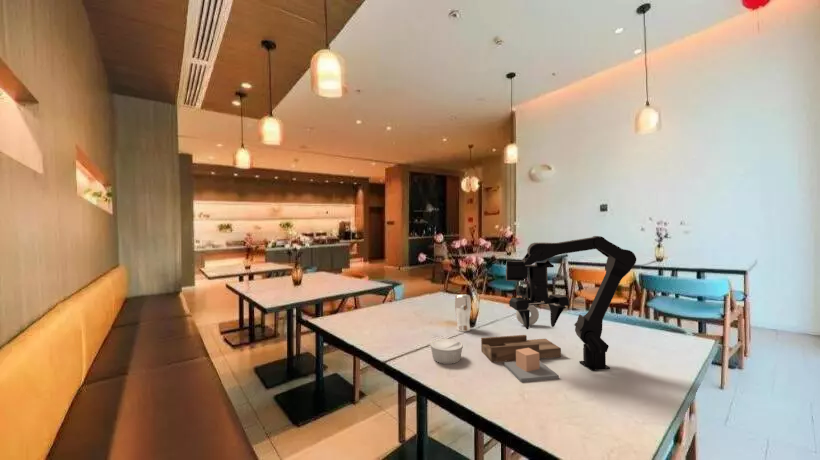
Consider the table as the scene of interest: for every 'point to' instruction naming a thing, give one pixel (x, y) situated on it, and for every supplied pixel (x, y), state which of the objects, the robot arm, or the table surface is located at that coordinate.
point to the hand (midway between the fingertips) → (540, 327)
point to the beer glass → (463, 312)
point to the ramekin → (446, 350)
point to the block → (527, 359)
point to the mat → (531, 372)
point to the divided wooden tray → (516, 347)
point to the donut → (532, 318)
